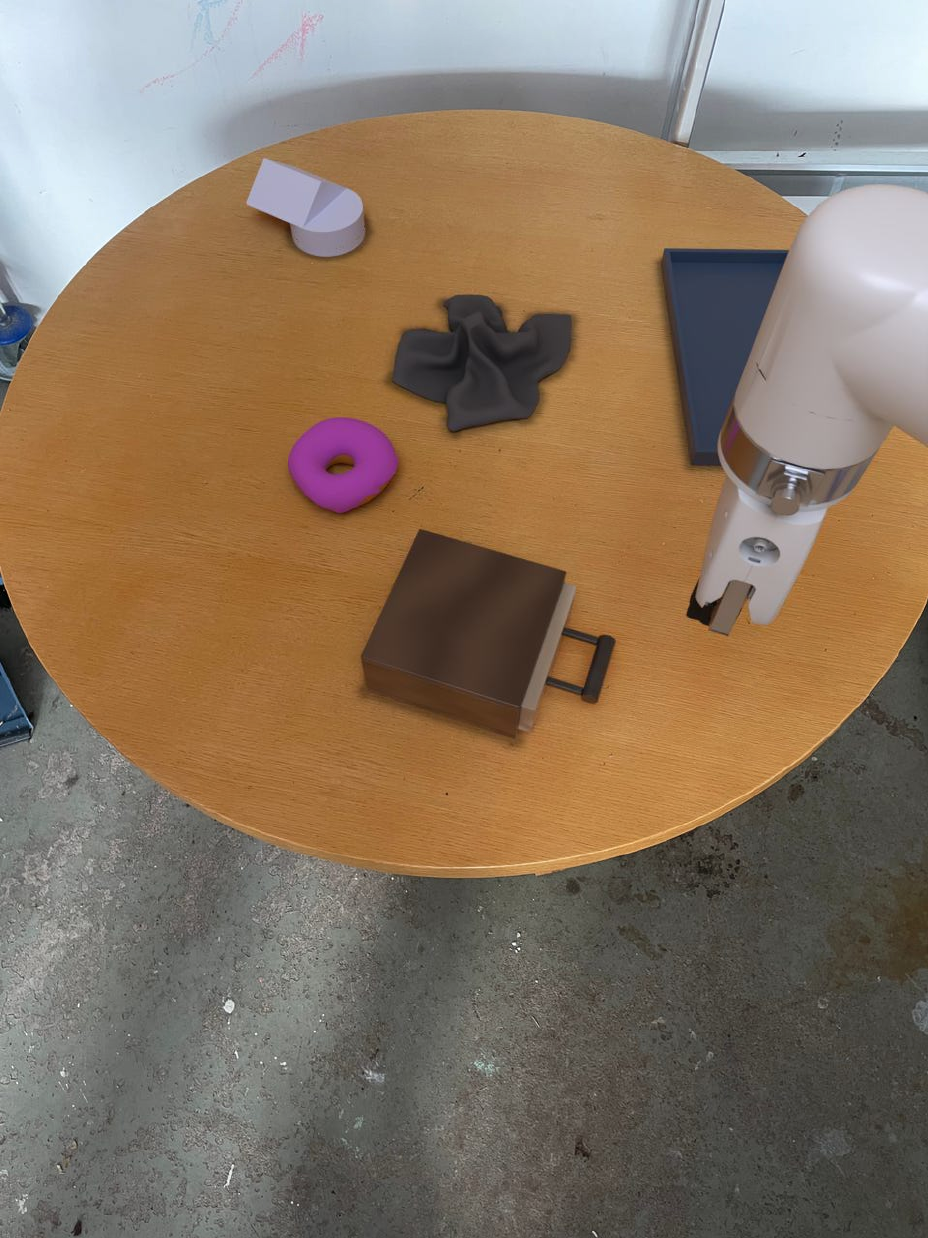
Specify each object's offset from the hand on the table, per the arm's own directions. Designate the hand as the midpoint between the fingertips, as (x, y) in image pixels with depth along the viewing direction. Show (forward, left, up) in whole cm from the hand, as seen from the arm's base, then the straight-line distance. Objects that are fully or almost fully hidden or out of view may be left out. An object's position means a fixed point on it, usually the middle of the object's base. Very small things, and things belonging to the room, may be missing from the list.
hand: (709, 613), depth 61 cm
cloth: (+28, -36, -17) cm, 48 cm away
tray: (+1, -45, -17) cm, 48 cm away
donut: (+36, -15, -17) cm, 42 cm away
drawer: (+14, 0, -16) cm, 21 cm away
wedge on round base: (+55, -50, -17) cm, 76 cm away
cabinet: (+18, 0, -17) cm, 25 cm away
